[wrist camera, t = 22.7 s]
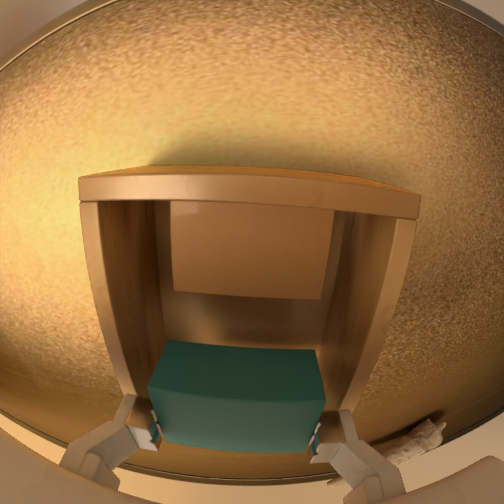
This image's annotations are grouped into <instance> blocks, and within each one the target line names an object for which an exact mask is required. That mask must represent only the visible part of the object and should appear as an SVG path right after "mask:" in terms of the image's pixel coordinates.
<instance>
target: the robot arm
mask: <svg viewBox="0 0 504 504" xmlns="http://www.w3.org/2000/svg"><path fill="white" fill-rule="evenodd" d="M161 433H163V432H162V430H161V427H160V425H159V422H158V419H157V416H156V414H155V411H154V408H153V405H152V402H151V399H149V398H145V397H141V396H137V395H133V394H129V393H127V394H126V395H125V396H124V398H123V400H122V402H121V404H120V406H119V408H118V410H117V412H116V414H115V416H114V419H113V421H107V422H106V423H104V424H102V425H101V426H99V427H97V428H96V429H94V430H92V431H90V432H89V433H87V434H85V435H83V436H81V437H80V438H78V439H76V440H74V441H72V442H70V444H69V446H68V447H67V449H66V452H65V454H64V455H63V457H62V460H61V461H60V464H59V465H58V464H56V463H54V462H52V461H50V460H49V459H47V458H45V457H43V456H42V455H40V454H38V453H37V452H35V451H33V450H32V449H30V448H29V447H27V446H26V445H24V444H22V443H21V442H20V441H18V440H17V439H15V438H14V437H12V436H11V435H10V434H8V433H7V432H6V431H4V430H3V429H1V428H0V504H160V503H156V502H152V501H149V500H145V499H142V498H138V497H135V496H132V495H129V494H125V493H123V492H120V491H118V487H119V484H120V480H119V478H118V477H117V476H116V475H115V474H114V473H113V472H112V470H113V469H115V468H116V467H117V466H118V465H120V464H121V463H122V462H123V461H125V460H126V459H127V458H128V457H130V456H131V455H132V454H133V453H135V452H136V451H137V450H138V449H139V448H143V449H148V450H152V451H157V452H158V450H159V447H160V444H161V441H162V439H161V436H160V434H161ZM309 444H310V448H309V450H308V454H309V462H310V463H323V462H330V464H331V465H332V466H333V467H334V469H335V470H336V471H337V472H338V473H339V474H340V475H341V476H342V477H343V479H344V480H345V481H346V482H347V483H348V484H349V485H350V486H351V487H352V488H353V490H352V491H351V492H350V493H348V494H347V495H346V496H345V497H344V498H343V502H344V504H504V461H502V460H500V459H498V458H496V457H493V456H486V457H484V458H482V459H480V460H479V461H477V462H475V463H473V464H472V465H470V466H468V467H466V468H464V469H462V470H460V471H458V472H456V473H454V474H452V475H450V476H448V477H445V478H443V479H441V480H439V481H436V482H434V483H432V484H429V485H427V486H424V487H422V488H419V489H416V490H413V491H411V492H408V493H406V491H405V488H404V484H403V481H402V477H401V474H400V471H399V469H398V468H397V467H396V466H395V465H393V464H392V463H391V462H389V461H388V460H387V459H386V458H384V457H383V456H382V455H381V454H379V453H378V452H377V451H376V450H374V449H373V448H372V447H371V446H369V445H368V444H367V443H366V442H365V441H363V440H359V438H358V435H357V431H356V428H355V424H354V421H353V417H352V414H351V411H350V410H349V409H345V410H331V411H322V413H321V416H320V418H319V421H318V423H317V425H316V427H315V430H314V432H313V434H312V436H311V439H310V441H309Z"/></svg>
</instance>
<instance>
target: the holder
mask: <svg viewBox="0 0 504 504" xmlns="http://www.w3.org/2000/svg"><path fill="white" fill-rule="evenodd" d="M78 186H79V200H80V201H81V202H80V216H81V226H82V234H83V242H84V249H85V256H86V262H87V268H88V273H89V279H90V284H91V289H92V293H93V298H94V302H95V306H96V310H97V314H98V318H99V322H100V326H101V329H102V333H103V336H104V340H105V343H106V346H107V350H108V353H109V356H110V359H111V362H112V365H113V368H114V371H115V373H116V376H117V379H118V382H119V384H120V387H121V389H122V392H123V394H124V396H125V395H126V394H127V393H129V394H133V395H137V396H141V397H145V398H149V399H150V396H149V393H148V389H147V386H148V384H149V381H150V379H151V377H152V374H153V372H154V370H155V367H156V365H157V363H158V361H159V358H160V356H161V354H162V351H163V349H164V347H165V345H166V343H167V340H177V341H185V342H193V343H202V344H212V345H223V346H236V347H251V348H272V349H314V350H315V352H316V356H317V361H318V365H319V369H320V373H321V378H322V382H323V387H324V391H325V396H326V400H327V401H326V404H325V406H324V408H323V411H331V410H345V409H349V410H350V411H351V414H352V412H353V410H354V408H355V406H356V404H357V403H358V400H359V398H360V396H361V394H362V392H363V390H364V388H365V386H366V384H367V382H368V379H369V377H370V375H371V373H372V370H373V368H374V366H375V363H376V361H377V358H378V356H379V353H380V351H381V348H382V346H383V343H384V341H385V338H386V335H387V332H388V330H389V327H390V324H391V321H392V318H393V315H394V312H395V309H396V306H397V303H398V299H399V296H400V293H401V289H402V286H403V282H404V279H405V275H406V271H407V267H408V263H409V259H410V255H411V251H412V246H413V241H414V237H415V232H416V226H417V221H416V219H418V214H419V208H420V202H421V195H419V194H416V193H413V192H410V191H407V190H404V189H400V188H397V187H394V186H390V185H387V184H383V183H380V182H376V181H372V180H369V179H365V178H361V177H355V176H347V175H340V174H332V173H323V172H314V171H304V170H293V169H281V168H267V167H250V166H226V165H154V166H140V167H133V168H127V169H120V170H114V171H108V172H102V173H97V174H92V175H87V176H82V177H79V179H78ZM170 201H198V202H225V203H245V204H263V205H278V206H292V207H304V208H316V209H327V210H335V218H334V225H333V233H332V240H331V246H330V253H329V259H328V265H327V271H326V277H325V283H324V288H323V294H322V299H321V300H297V299H275V298H257V297H241V296H227V295H214V294H201V293H190V292H179V291H174V288H173V275H172V258H171V237H170ZM161 434H163V433H161ZM308 445H310V444H309V443H308Z"/></svg>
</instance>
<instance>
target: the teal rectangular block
mask: <svg viewBox="0 0 504 504" xmlns="http://www.w3.org/2000/svg"><path fill="white" fill-rule="evenodd" d="M147 389H148V393H149V396H150V399H151V402H152V405H153V408H154V411H155V414H156V416H157V419H158V422H159V425H160V427H161V430H162V432H163V435H164V438H165V440H166V442H169V443H175V444H180V445H186V446H192V447H199V448H206V449H214V450H224V451H236V452H254V453H298V452H304V451H305V449H306V447H307V445H308V443H309V441H310V439H311V436H312V434H313V432H314V430H315V427H316V425H317V423H318V421H319V418H320V416H321V413H322V411H323V408H324V406H325V404H326V401H327V400H326V396H325V391H324V387H323V382H322V378H321V373H320V369H319V365H318V361H317V356H316V352H315V350H314V349H272V348H251V347H236V346H223V345H212V344H202V343H193V342H185V341H177V340H167V343H166V345H165V347H164V349H163V351H162V354H161V356H160V358H159V361H158V363H157V365H156V367H155V370H154V372H153V374H152V377H151V379H150V381H149V384H148V386H147Z"/></svg>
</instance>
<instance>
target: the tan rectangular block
mask: <svg viewBox="0 0 504 504" xmlns="http://www.w3.org/2000/svg"><path fill="white" fill-rule="evenodd" d="M334 218H335V210H327V209H316V208H304V207H292V206H278V205H263V204H245V203H225V202H198V201H170V237H171V258H172V275H173V288H174V291H179V292H190V293H201V294H214V295H227V296H241V297H257V298H275V299H297V300H321V299H322V294H323V288H324V283H325V277H326V271H327V265H328V259H329V253H330V246H331V240H332V233H333V225H334Z"/></svg>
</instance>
